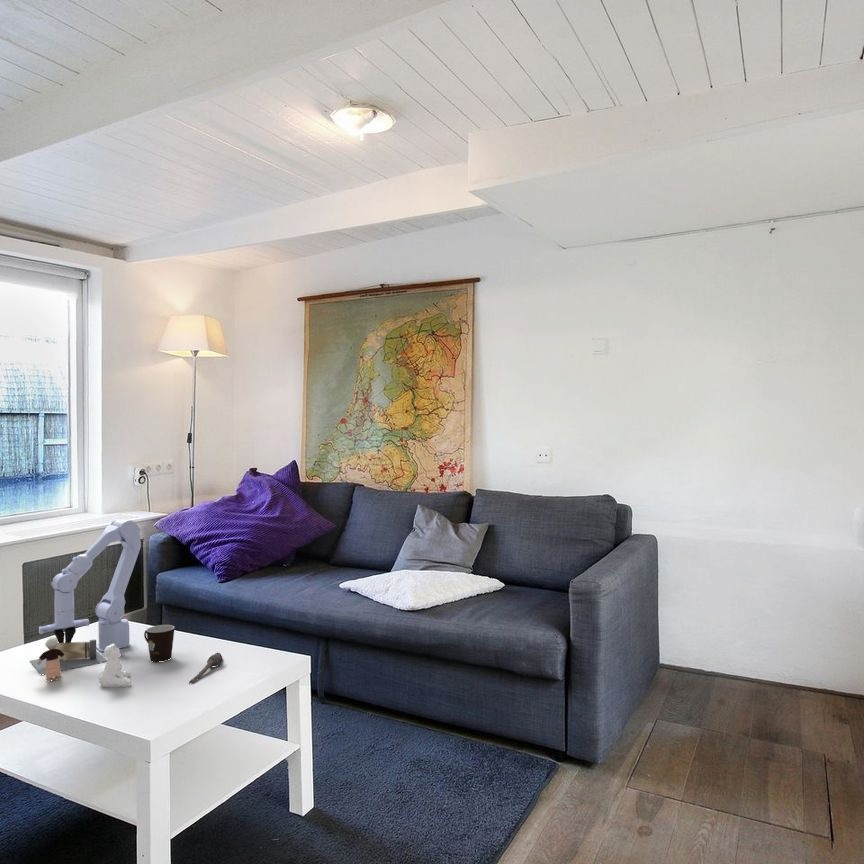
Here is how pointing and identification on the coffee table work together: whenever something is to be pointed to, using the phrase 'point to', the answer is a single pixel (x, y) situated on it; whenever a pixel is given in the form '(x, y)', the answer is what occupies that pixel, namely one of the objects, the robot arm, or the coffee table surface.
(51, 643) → the grandmother figurine
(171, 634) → the coffee mug
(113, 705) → the coffee table surface
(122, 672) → the sitting furry creature
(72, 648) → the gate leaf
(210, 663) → the natural artifact
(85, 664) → the gate frame
